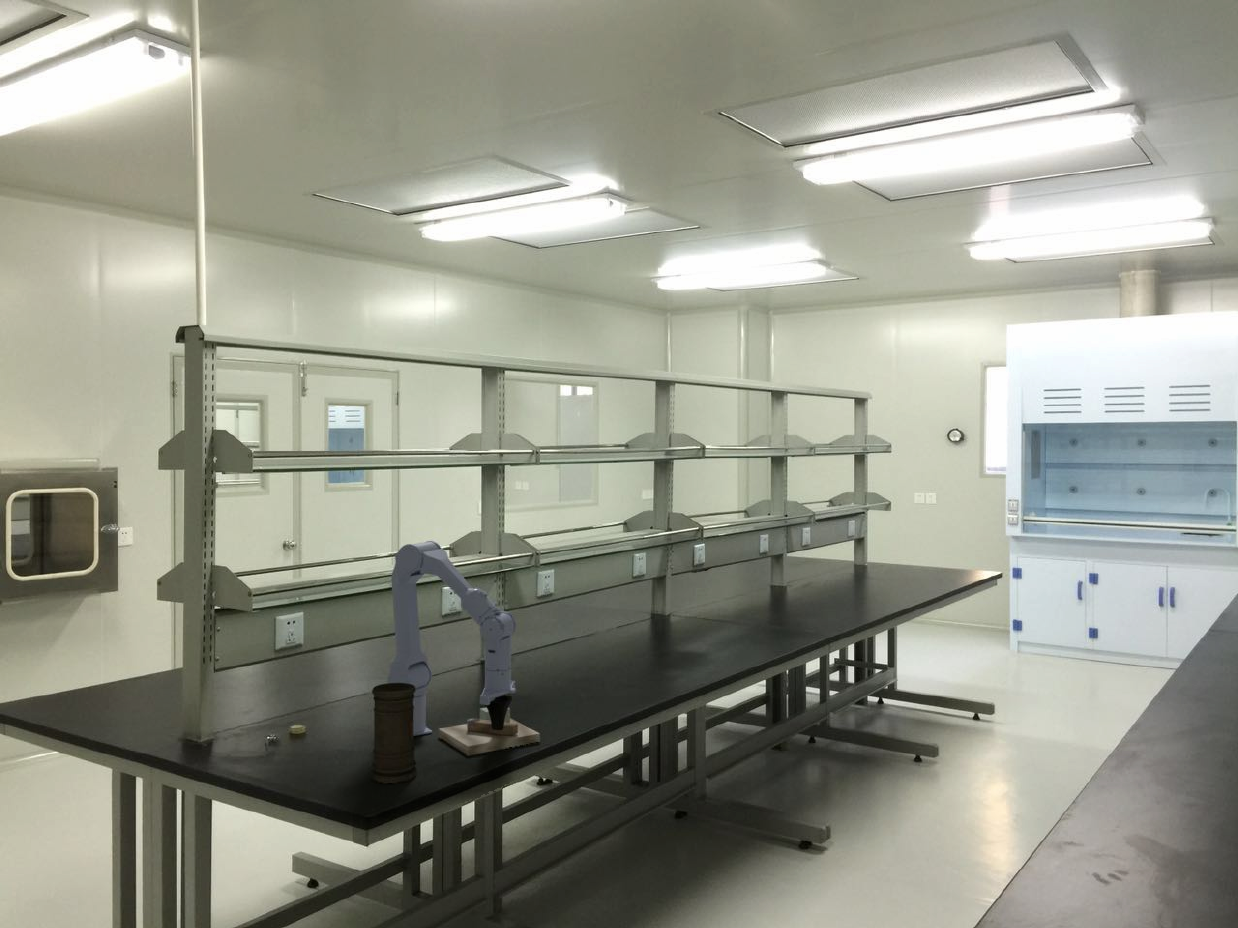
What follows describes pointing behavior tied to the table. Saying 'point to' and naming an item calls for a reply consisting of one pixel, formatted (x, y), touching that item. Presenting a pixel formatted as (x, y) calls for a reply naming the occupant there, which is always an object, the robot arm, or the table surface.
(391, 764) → the container
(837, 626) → the table surface
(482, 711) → the block
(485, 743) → the stool seat
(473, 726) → the stool leg
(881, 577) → the table surface
